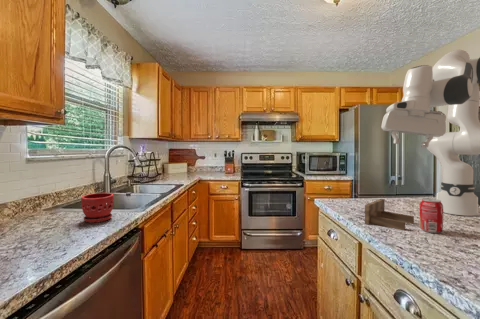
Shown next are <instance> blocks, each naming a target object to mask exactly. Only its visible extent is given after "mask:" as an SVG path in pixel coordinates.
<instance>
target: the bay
mask: <svg viewBox="0 0 480 319" xmlns="http://www.w3.org/2000/svg"><path fill="white" fill-rule="evenodd" d="M385 202H386V200H385V199H384V198H380V199H377V200H374V201H370V202H369V203H367V204H365V205H364V224H365V225H371V224H372V225H378V226H382V227H387V228H392V229H396V230H399V231H400V230H401V231H405V230H406V224H410V223H411V225H413V224H415V219H414V218H415V216H414V215H411V214H410V215H409V214H404V213H396V212H391V211H386V210H385V208H386V207H385V204H386V203H385Z"/></svg>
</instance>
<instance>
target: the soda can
mask: <svg viewBox="0 0 480 319" xmlns="http://www.w3.org/2000/svg"><path fill="white" fill-rule="evenodd" d="M418 223H419V229H421V230H422V231H423V232H426V233H429V232H430V233H431V234H440V233H441V232H443V229H444V212H443V205H442V203H441V200H438V199H437V198H431V197H430V198H429V197H427V198H425V197H423V198H421V201H420V203H419V221H418Z"/></svg>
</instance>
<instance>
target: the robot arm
mask: <svg viewBox="0 0 480 319" xmlns="http://www.w3.org/2000/svg"><path fill="white" fill-rule="evenodd" d="M402 93H403V96H402V99H401V101H398V102H393V103H392V104H390V105H389V106H388V107H387V108H386V110H385V112H386V113H385V114H383V115H384V116H383V118H382V122H381V126H380V127H381V130H382V131H383V132H384V131H385V132H391V133H390V134H391V135H390V136H391V137H392V139H393V144H395V145H399V144H401V138H399V137H398V133H400V134H410V135H418V136H425V139H426V140H425V141H423V142H421V145H420V146H421V148H426V149H427V151H428V152H430V153H431V154H432V155H434V157H435V158H436V159H437V160H438V161H439V164H440V166H441V173H442V175H441V176H442V180H441V182H440V191H438V192H437V193H436V199H438V200H441V203H442V205H443V214H444V213H445V214H449V215H454V216H455V215H456V216H466V217H467V216H468V217H470V216H472V217H473V216H474V217H475V216H477V217H478V216H479V217H480V204H479V197H478V196H477V195H476V194H475V193H474V192H475V188H476V187H475V184H474V168H473V167H472V166H471V165H470V164H468V163H467V162H464V161H463V160H461V159H460V157H459V155H469V156H470V155H474V156H476V155H480V120H479V111H480V110H479V109H480V57H478V58H471V59H470V54H469V53H468V52H467V51H465V50H464V49H463V50H462V49H455V50H451V51H449V52H447V53H446V54H444V55H442V56H441V57H440V58H439V59H438V60H437V61H436V62H435V64H434V65H433V66H431V65H429V64H423V65H418V66H417V65H416V66H413V67H411V68H409V69H408V70H407V71H406V74H405V77H404V81H403V87H402ZM443 106H447V114H445V113H444V112H443V111H440V110H438V111H437V110H433V109H432V110H431V108H435V107H443ZM446 121H447V122H448V123H450V124H451V125H453V126H457V127H458V128H459V130H458V131H447V124H446Z"/></svg>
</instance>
